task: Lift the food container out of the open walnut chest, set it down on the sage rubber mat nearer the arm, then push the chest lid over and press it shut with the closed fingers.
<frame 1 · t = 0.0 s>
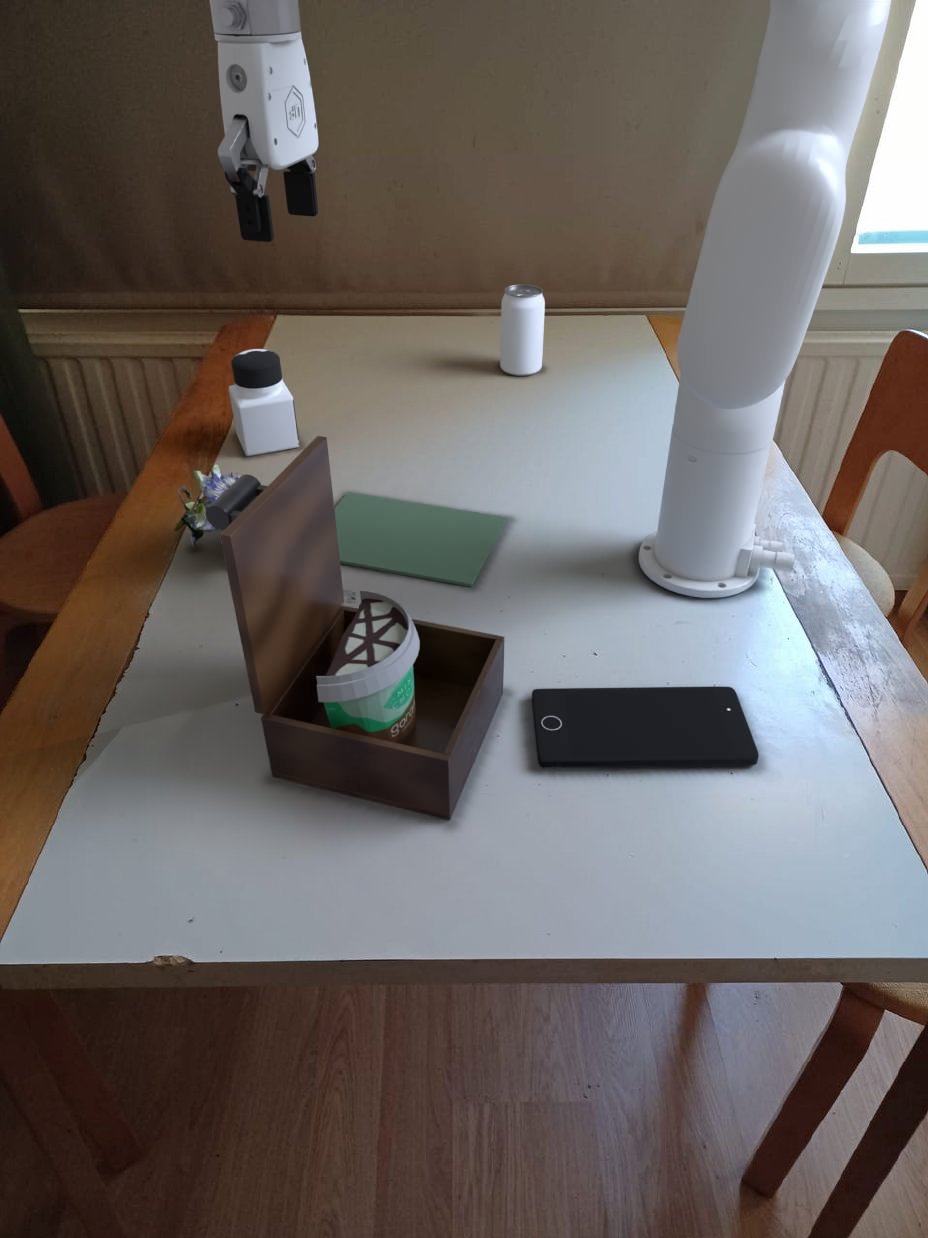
hand: (281, 226, 89), 31 cm above the table, tool pointing down, fingers open, 9 cm apart
lid: (265, 568, 71), point 15 cm above the table, hinge at 90.0°
mat: (405, 537, 102), on the table
can: (520, 369, 141), on the table
passion flower: (228, 550, 101), on the table
chest: (393, 733, 77), on the table
food container: (393, 728, 77), point 1 cm above the table, touching chest
medicine bottle: (268, 442, 121), on the table
cell phone: (639, 731, 77), on the table
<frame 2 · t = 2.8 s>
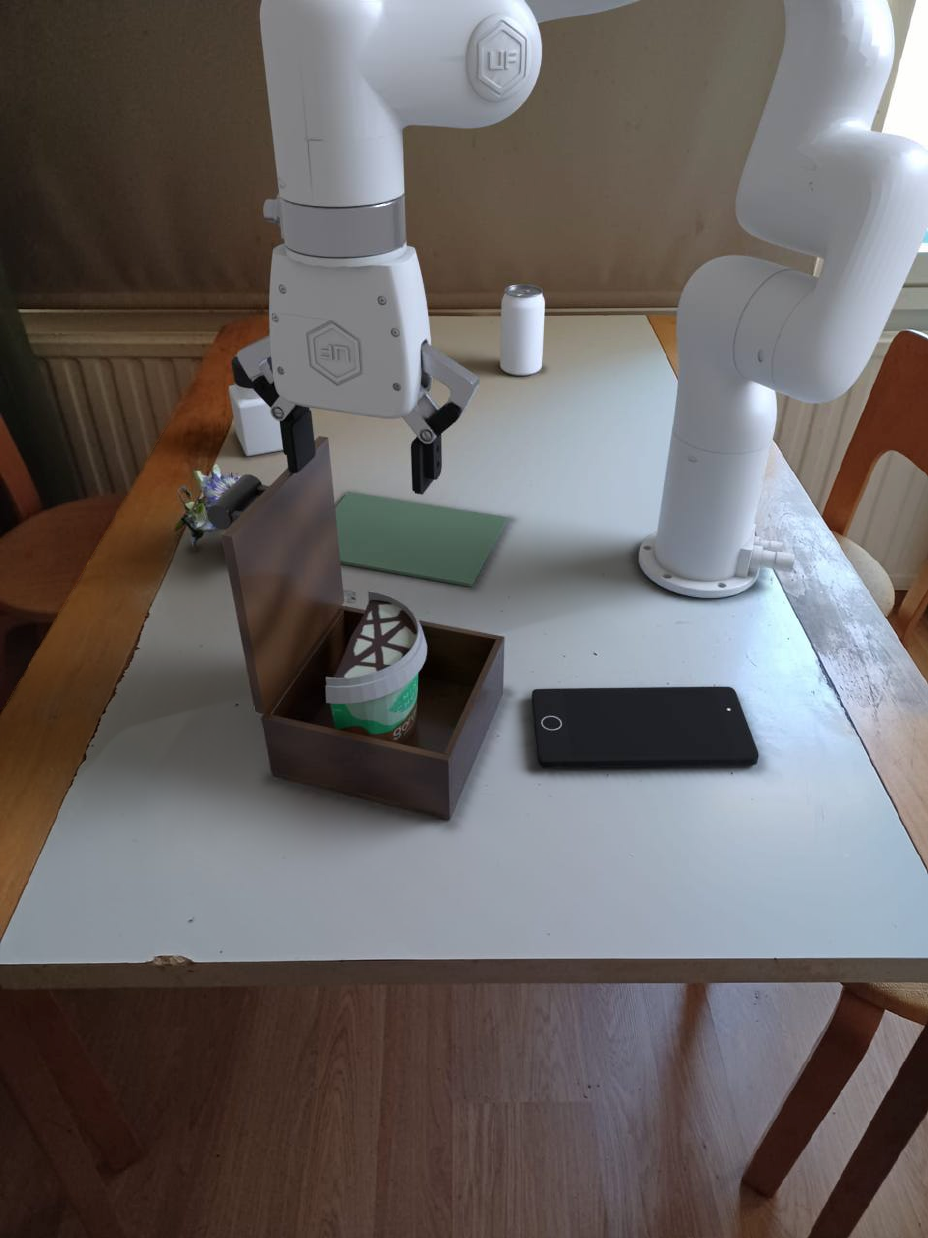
hand: (362, 474, 66), 23 cm above the table, tool pointing down, fingers open, 9 cm apart
lid: (265, 568, 71), point 15 cm above the table, hinge at 89.5°, touching gripper
everything else where it was.
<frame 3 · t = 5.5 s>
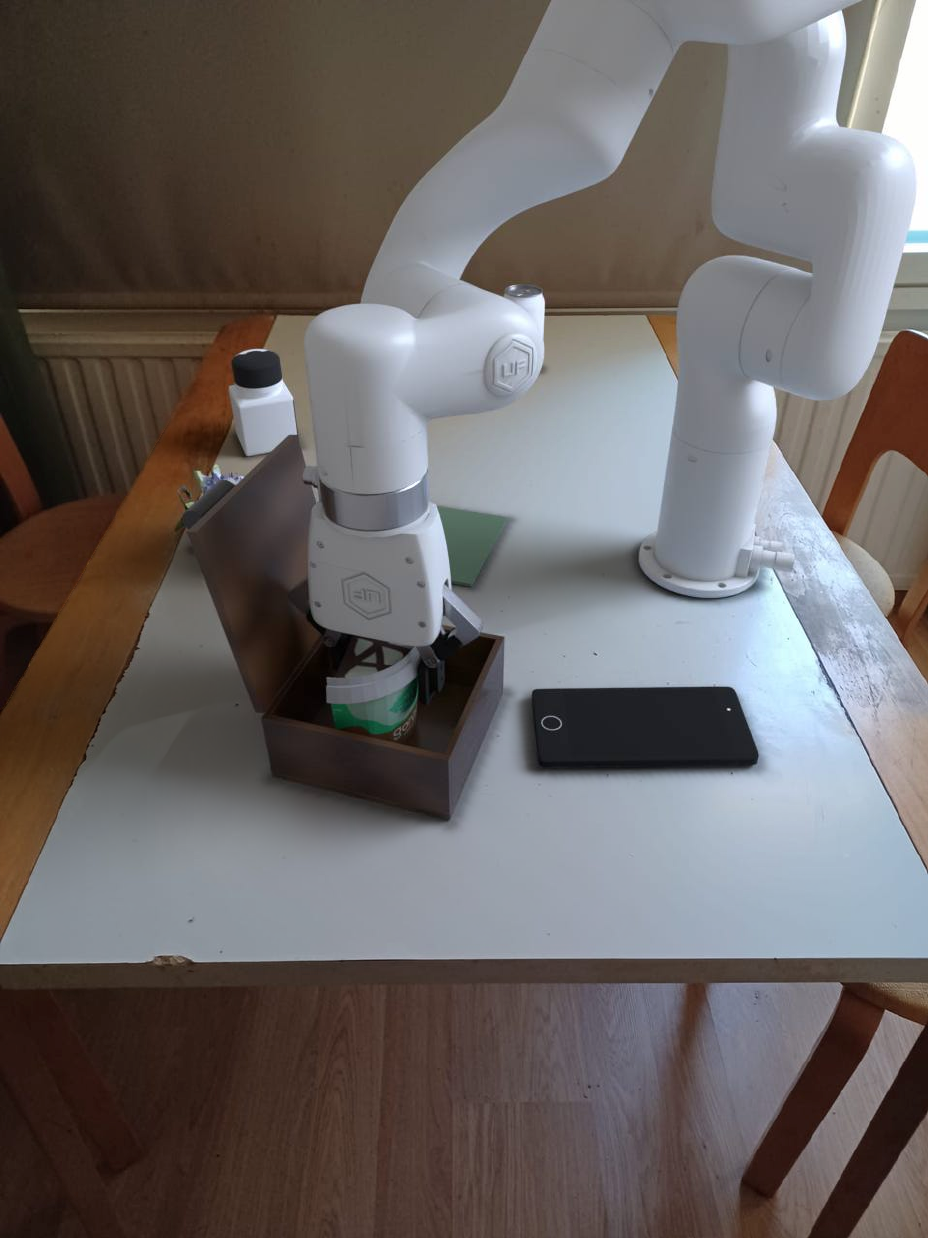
hand: (389, 683, 74), 6 cm above the table, tool pointing down, fingers closed on food container, 6 cm apart
lid: (251, 570, 71), point 15 cm above the table, hinge at 99.2°
food container: (393, 729, 77), resting on chest, touching gripper
everything else where it was.
when the fingers open (5 cm above the table, at t = 15.8 s): food container stays where it is, resting on mat.
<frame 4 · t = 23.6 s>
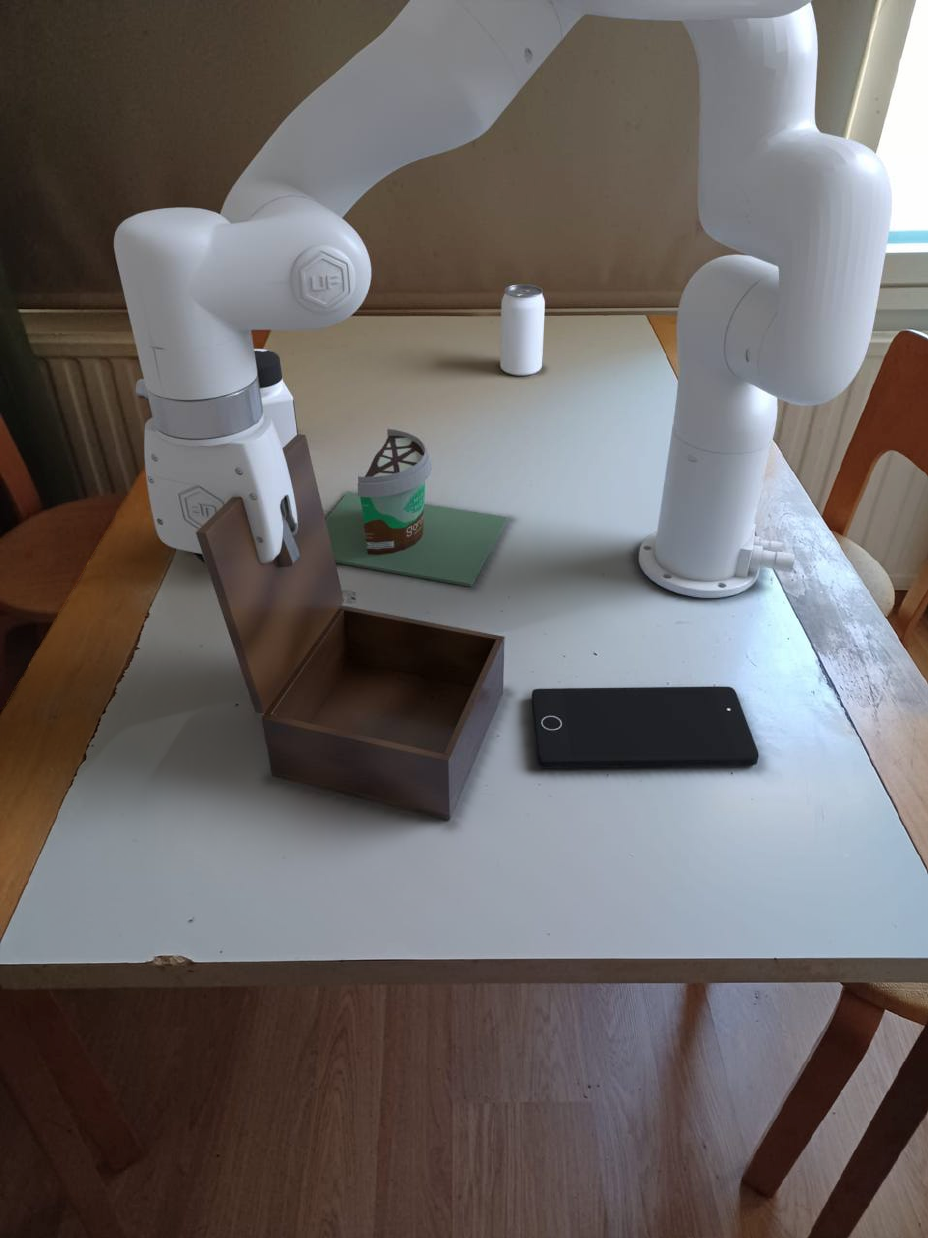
hand: (246, 613, 74), 10 cm above the table, tool pointing down, fingers closed
lid: (255, 569, 71), point 15 cm above the table, hinge at 96.5°, touching gripper
food container: (405, 535, 102), resting on mat
everything else where it was.
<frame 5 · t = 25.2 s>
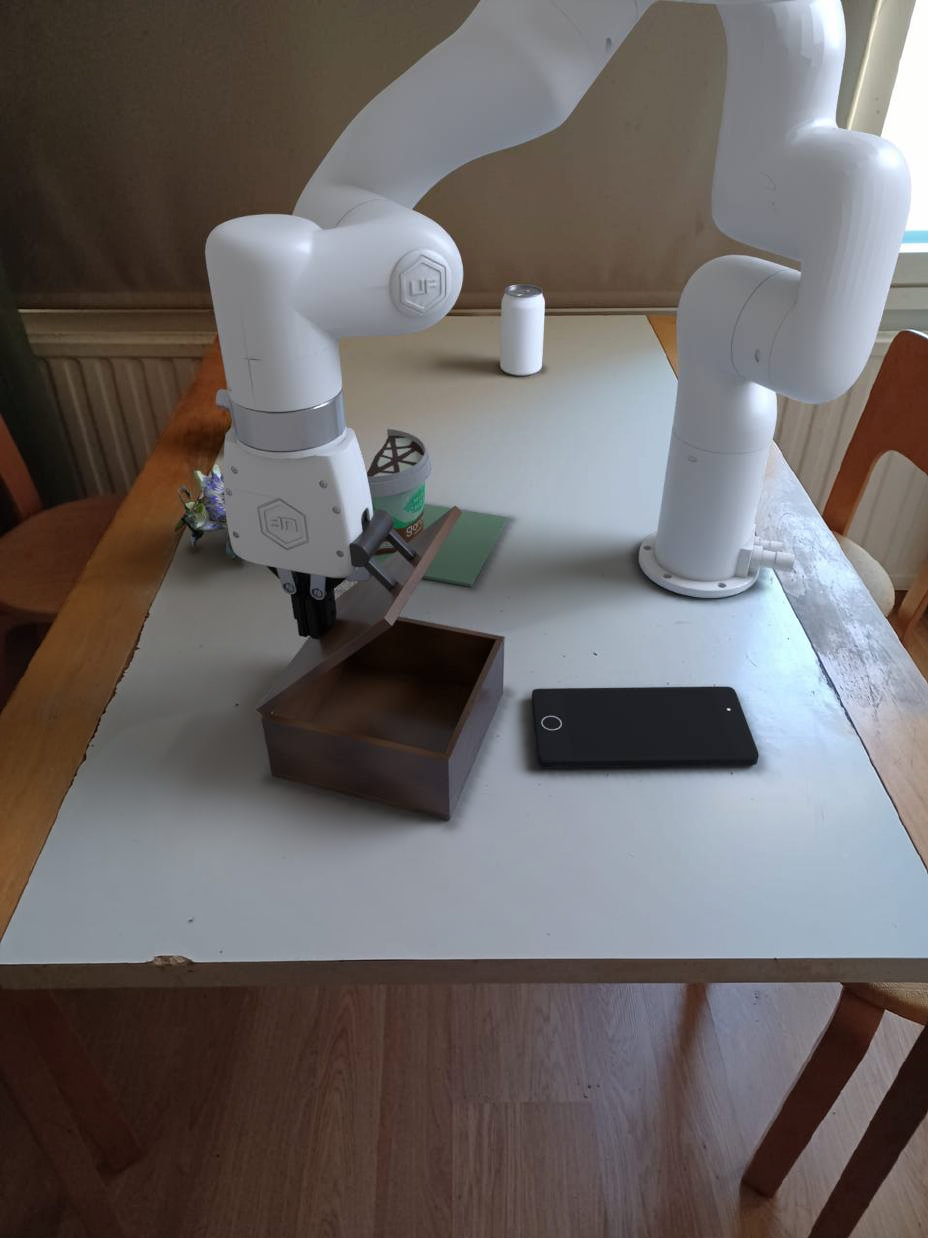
hand: (316, 627, 73), 10 cm above the table, tool pointing down, fingers closed
lid: (339, 589, 70), point 14 cm above the table, hinge at 45.4°, touching gripper
everything else where it was.
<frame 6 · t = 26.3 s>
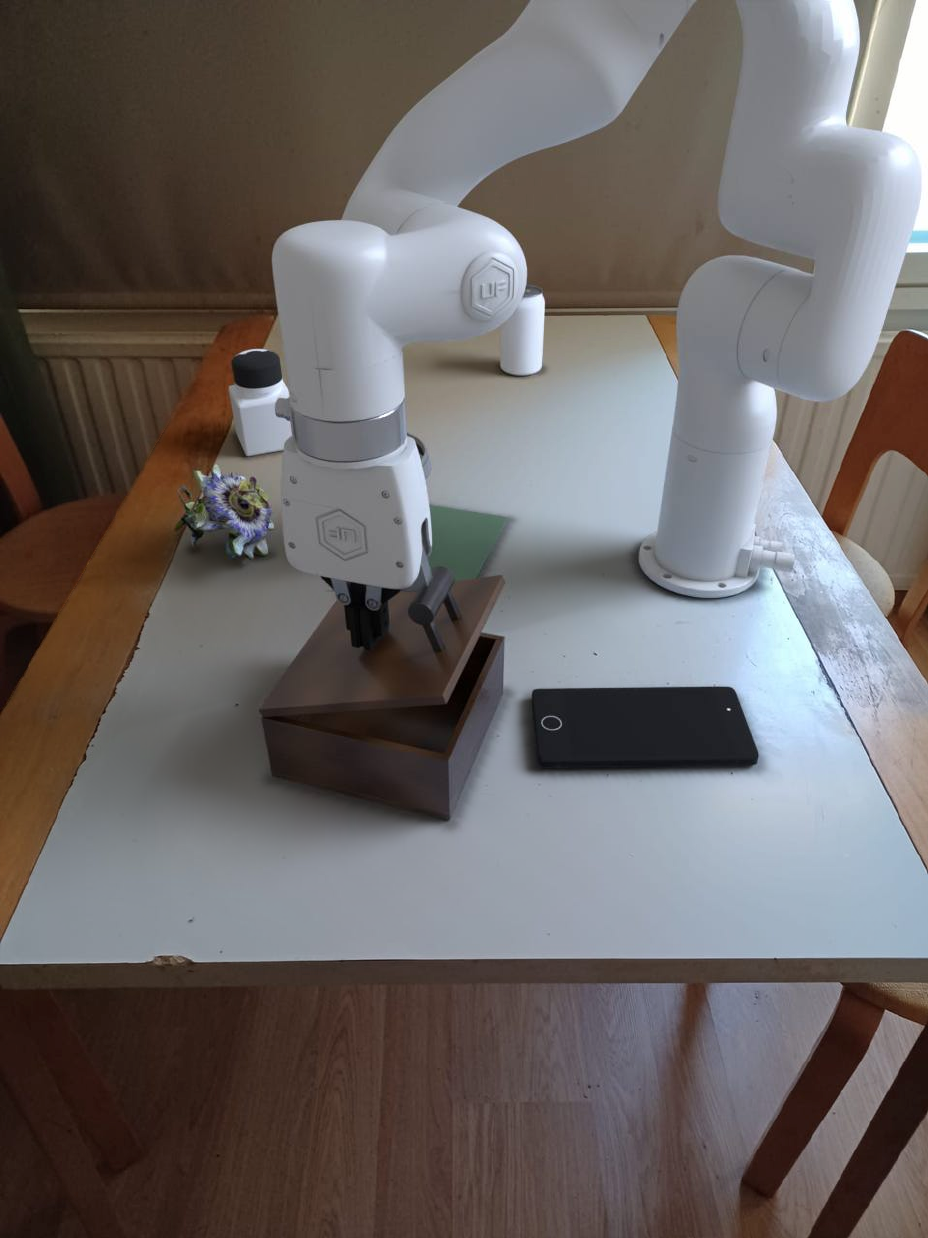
hand: (369, 638, 72), 10 cm above the table, tool pointing down, fingers closed
lid: (374, 620, 70), point 12 cm above the table, hinge at 20.1°, touching gripper
everything else where it was.
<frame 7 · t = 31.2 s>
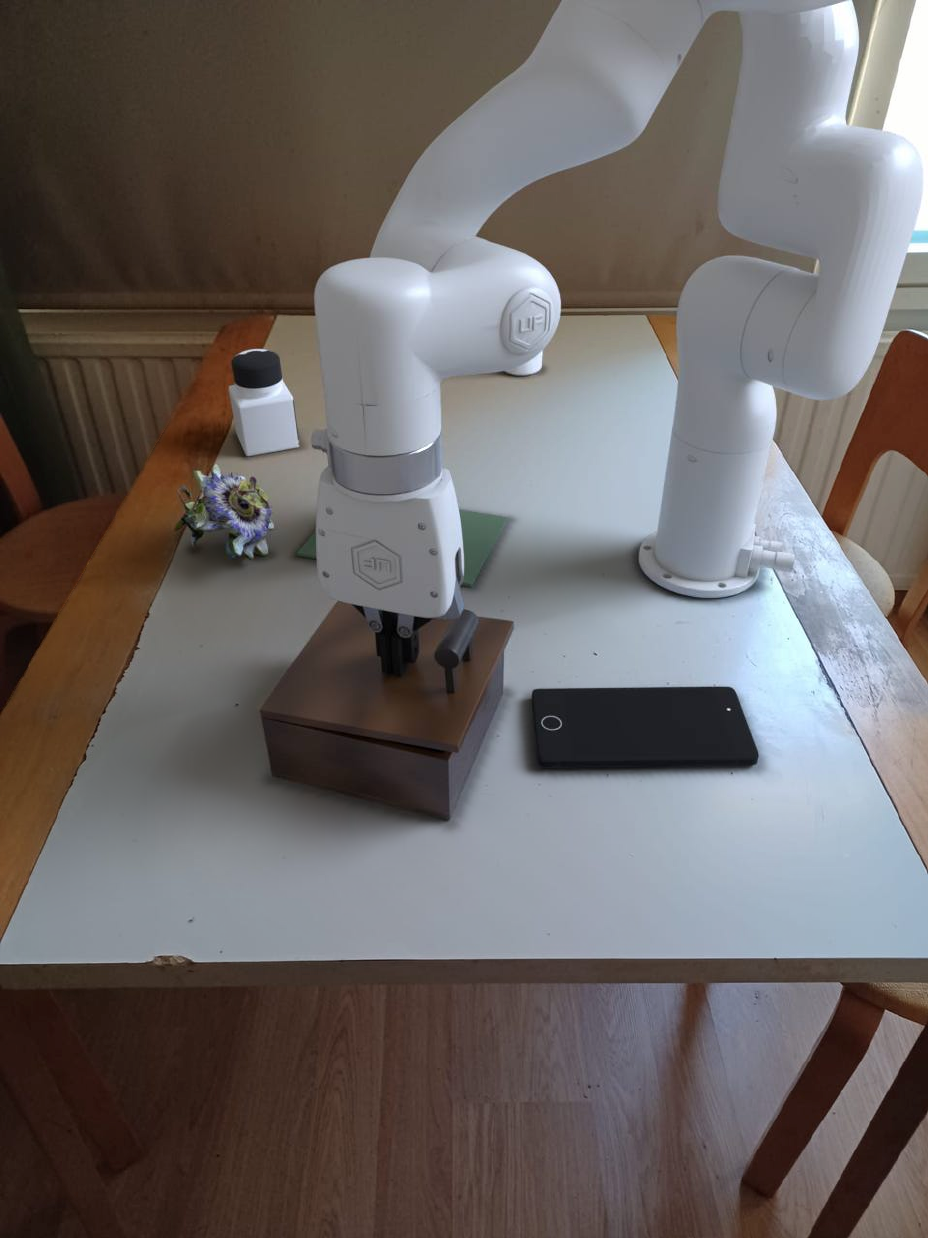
hand: (398, 664, 72), 8 cm above the table, tool pointing down, fingers closed
lid: (389, 645, 71), point 10 cm above the table, hinge at 3.5°, touching gripper
everything else where it was.
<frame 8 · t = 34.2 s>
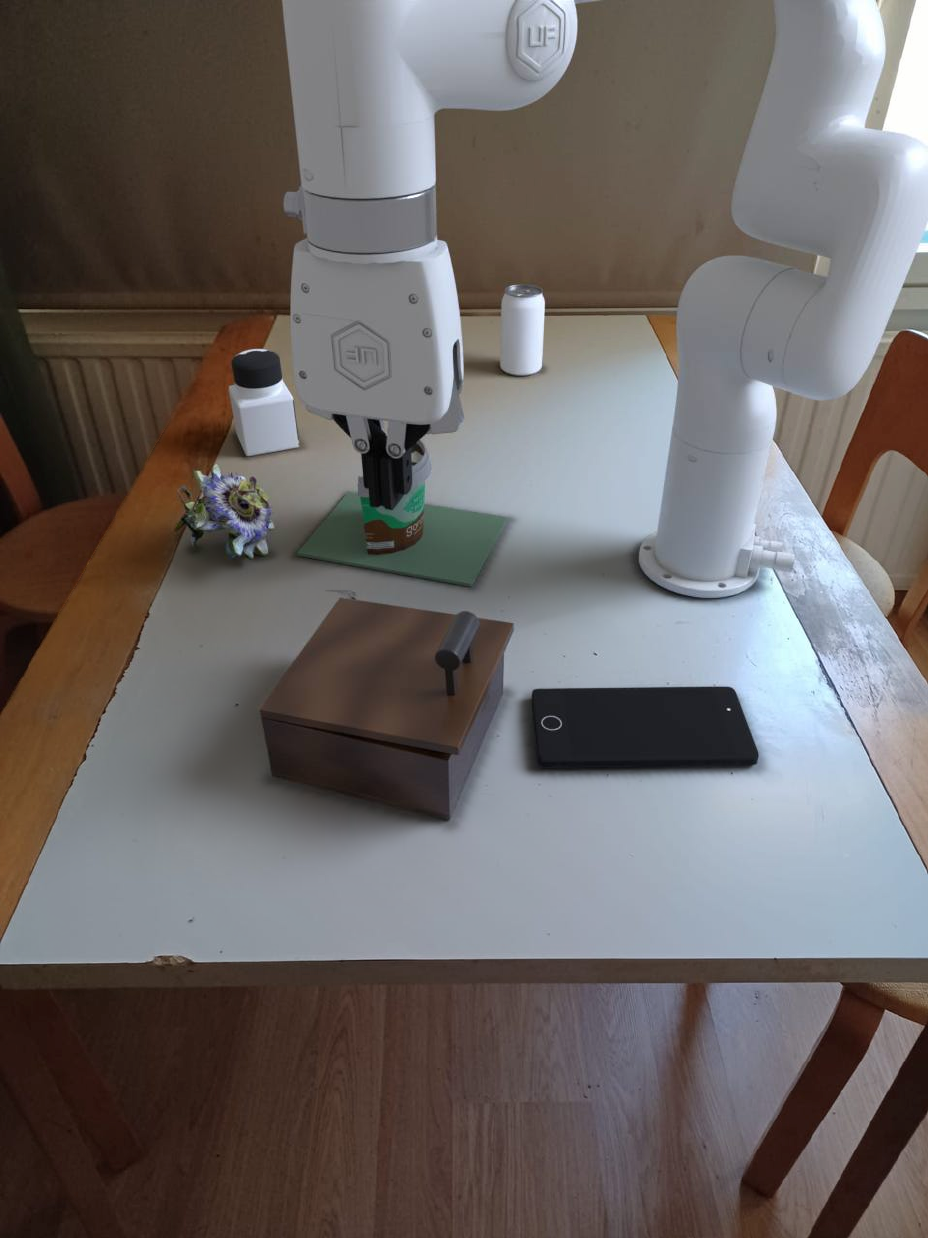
hand: (389, 498, 63), 23 cm above the table, tool pointing down, fingers closed
lid: (390, 646, 71), point 10 cm above the table, hinge at 2.8°
everything else where it was.
at the end: food container inside the target area on the mat (0.1 cm from its centre), point 0.2 cm above the mat's base; food container tilted 0°; lid at +3° (first picture: +90°) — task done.
